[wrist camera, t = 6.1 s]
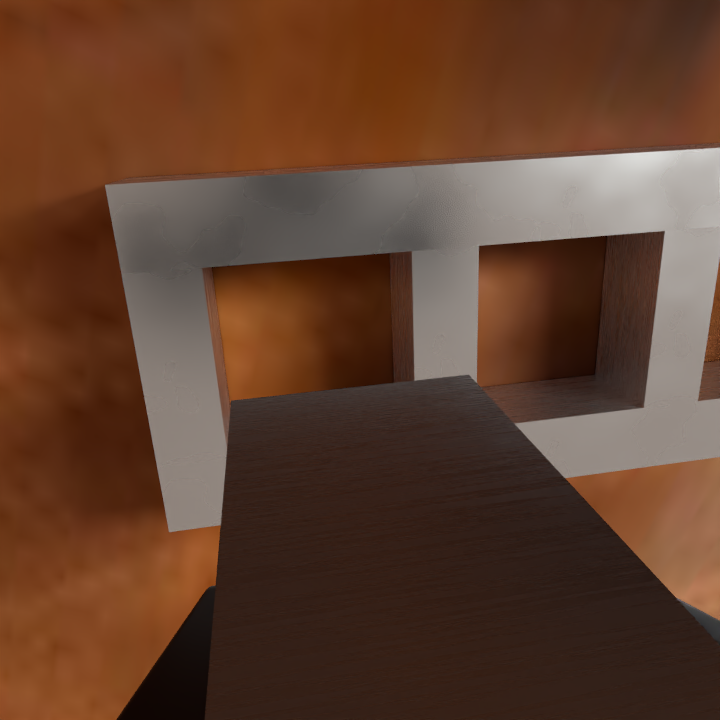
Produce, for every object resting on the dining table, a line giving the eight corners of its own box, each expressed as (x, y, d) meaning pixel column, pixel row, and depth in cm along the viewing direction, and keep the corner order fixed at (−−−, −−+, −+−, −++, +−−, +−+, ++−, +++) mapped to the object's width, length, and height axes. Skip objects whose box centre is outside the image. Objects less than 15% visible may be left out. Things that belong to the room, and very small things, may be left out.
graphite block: (468, 374, 10) (994, 944, 3) (466, 567, 12) (827, 1283, 4) (231, 400, 10) (166, 1170, 3) (257, 599, 11) (268, 1478, 4)
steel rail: (872, 133, 21) (966, 133, 18) (813, 400, 24) (884, 434, 22) (128, 178, 18) (104, 184, 15) (180, 480, 21) (169, 532, 18)
